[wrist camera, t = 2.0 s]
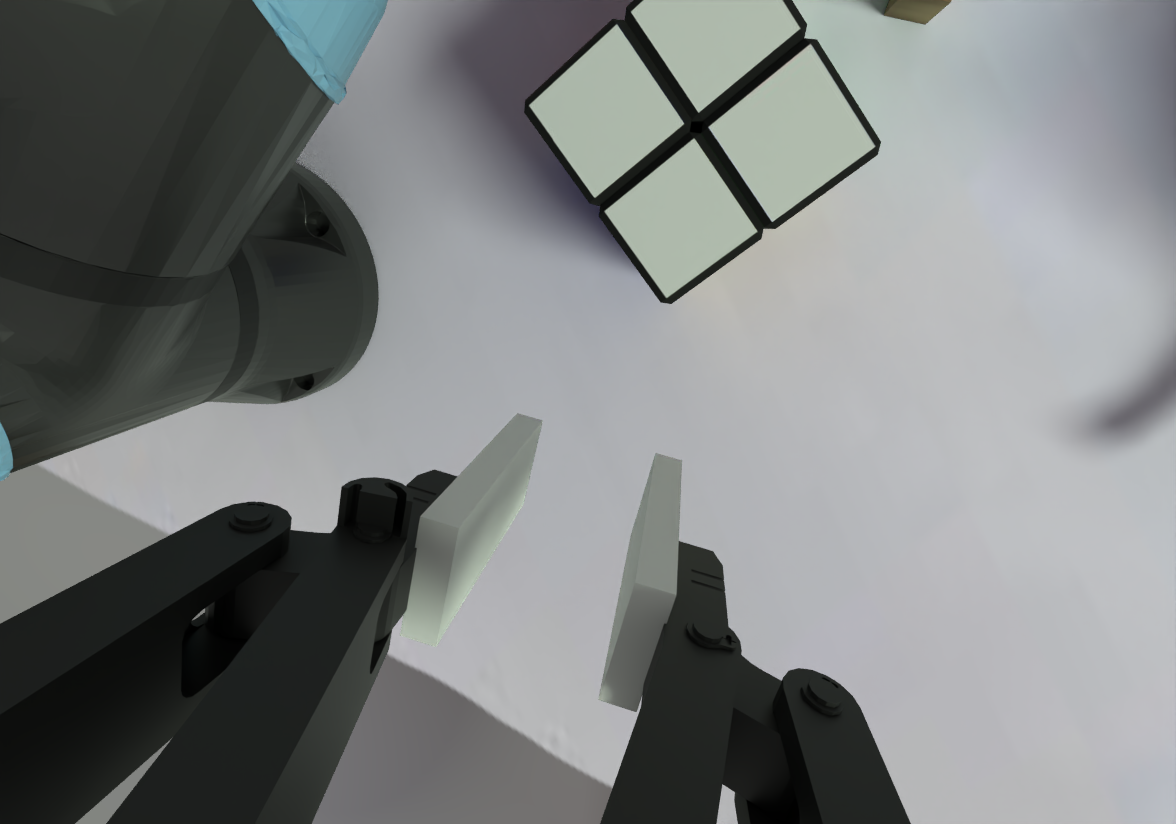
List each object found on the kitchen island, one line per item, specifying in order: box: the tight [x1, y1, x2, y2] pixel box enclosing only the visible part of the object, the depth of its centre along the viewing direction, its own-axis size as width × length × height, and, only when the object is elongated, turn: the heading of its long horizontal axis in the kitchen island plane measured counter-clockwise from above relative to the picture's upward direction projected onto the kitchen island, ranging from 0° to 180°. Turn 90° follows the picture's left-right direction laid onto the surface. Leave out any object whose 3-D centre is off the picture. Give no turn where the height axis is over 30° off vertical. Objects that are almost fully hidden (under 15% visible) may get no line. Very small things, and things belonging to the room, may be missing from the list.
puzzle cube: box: [524, 0, 881, 304], centre depth 28 cm, size 10×10×10 cm
